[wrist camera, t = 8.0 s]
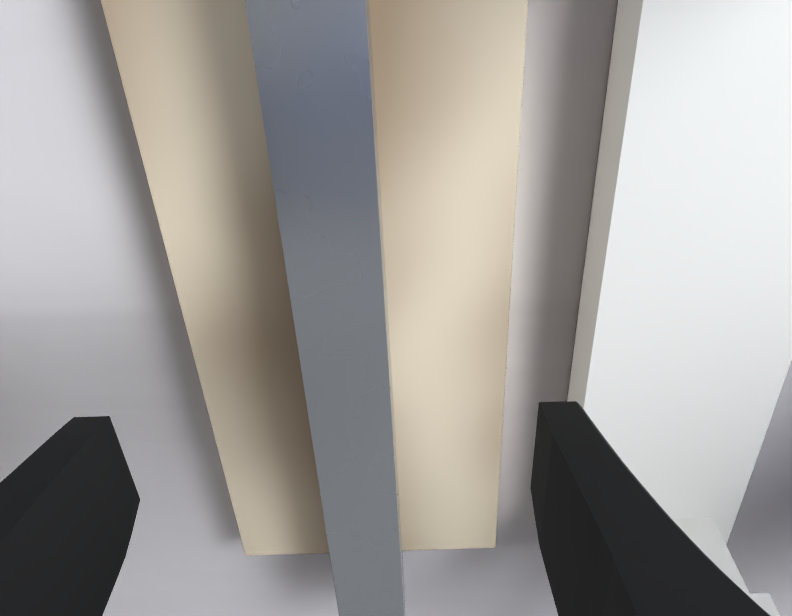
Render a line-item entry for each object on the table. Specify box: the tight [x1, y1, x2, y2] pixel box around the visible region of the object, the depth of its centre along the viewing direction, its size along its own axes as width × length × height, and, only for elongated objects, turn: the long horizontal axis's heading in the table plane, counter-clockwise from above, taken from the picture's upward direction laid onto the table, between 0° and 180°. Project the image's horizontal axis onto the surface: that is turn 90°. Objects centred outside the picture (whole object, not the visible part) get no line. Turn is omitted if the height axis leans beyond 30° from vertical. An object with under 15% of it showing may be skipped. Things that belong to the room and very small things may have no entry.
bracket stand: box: [567, 0, 792, 616], centre depth 14 cm, size 5×22×7 cm, turn 2°
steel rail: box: [245, 0, 405, 616], centre depth 15 cm, size 2×24×2 cm, turn 3°
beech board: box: [101, 0, 528, 556], centre depth 17 cm, size 8×20×1 cm, turn 2°
